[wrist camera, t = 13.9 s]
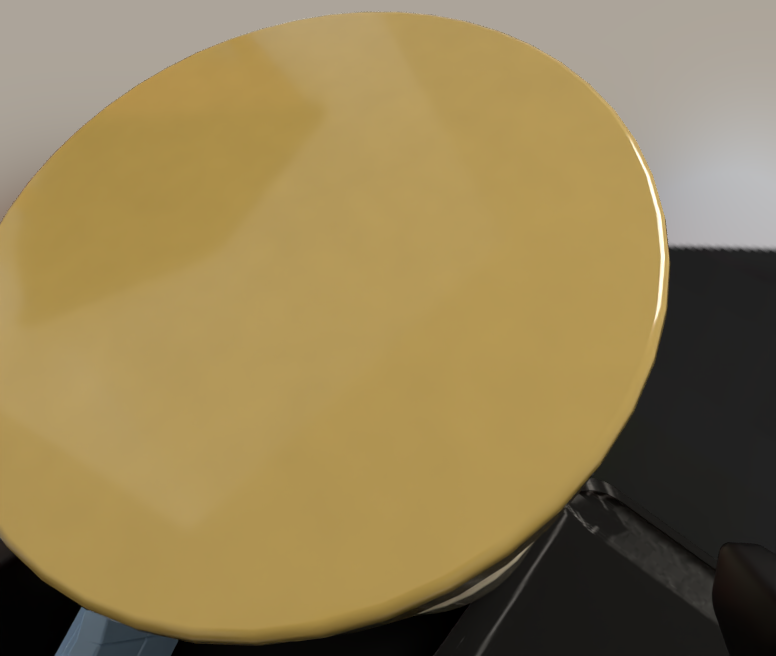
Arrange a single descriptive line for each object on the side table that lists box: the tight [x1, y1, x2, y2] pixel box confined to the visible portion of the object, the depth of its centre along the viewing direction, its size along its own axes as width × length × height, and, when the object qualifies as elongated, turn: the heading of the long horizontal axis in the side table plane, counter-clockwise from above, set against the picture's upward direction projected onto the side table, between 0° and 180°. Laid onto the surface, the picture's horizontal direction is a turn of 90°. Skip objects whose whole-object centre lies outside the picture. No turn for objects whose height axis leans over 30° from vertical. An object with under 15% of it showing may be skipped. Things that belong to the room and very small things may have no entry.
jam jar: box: [0, 12, 670, 646], centre depth 10 cm, size 6×6×12 cm
